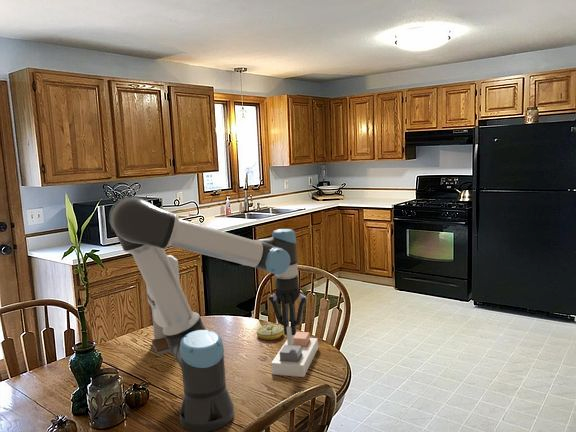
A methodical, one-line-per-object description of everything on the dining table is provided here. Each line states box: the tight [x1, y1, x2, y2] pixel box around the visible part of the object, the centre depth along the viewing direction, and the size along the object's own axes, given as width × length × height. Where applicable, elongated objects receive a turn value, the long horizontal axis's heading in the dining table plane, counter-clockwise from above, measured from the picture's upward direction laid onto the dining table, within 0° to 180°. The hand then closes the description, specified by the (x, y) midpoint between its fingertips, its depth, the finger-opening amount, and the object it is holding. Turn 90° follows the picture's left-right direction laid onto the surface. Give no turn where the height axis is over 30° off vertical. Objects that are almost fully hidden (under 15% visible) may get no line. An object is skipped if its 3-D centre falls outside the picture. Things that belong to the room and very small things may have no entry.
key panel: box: [270, 337, 319, 378], centre depth 160 cm, size 22×11×4 cm, turn 164°
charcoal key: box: [279, 344, 302, 362], centre depth 154 cm, size 6×6×3 cm
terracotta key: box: [293, 331, 311, 347], centre depth 165 cm, size 6×6×3 cm
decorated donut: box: [255, 323, 284, 341], centre depth 184 cm, size 10×11×4 cm
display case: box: [145, 254, 181, 356], centre depth 176 cm, size 11×11×35 cm
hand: (290, 343), depth 154 cm, fingers closed
